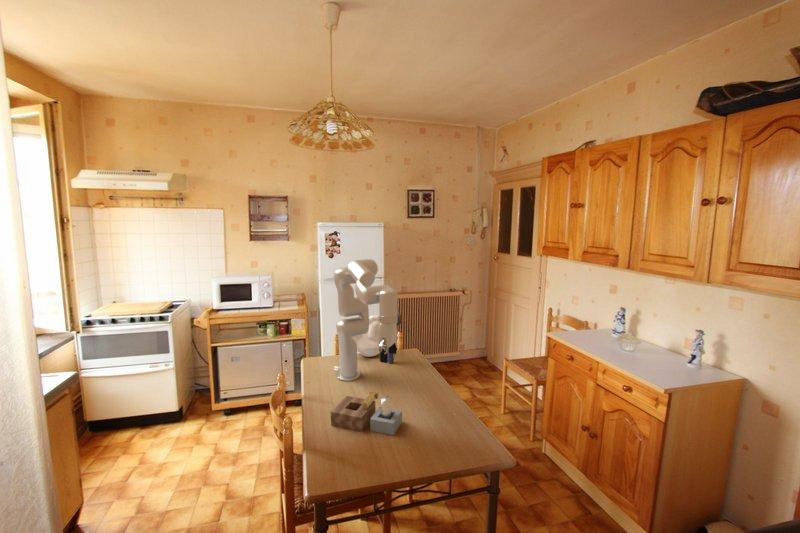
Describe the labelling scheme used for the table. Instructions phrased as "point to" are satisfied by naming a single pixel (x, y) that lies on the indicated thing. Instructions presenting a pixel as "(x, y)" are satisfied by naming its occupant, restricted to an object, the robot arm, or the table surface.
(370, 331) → the decorative rooster
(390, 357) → the rubber mallet
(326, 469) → the table surface
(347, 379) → the robot arm
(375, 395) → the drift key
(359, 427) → the socket block
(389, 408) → the steel peg
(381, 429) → the grey square ring block
